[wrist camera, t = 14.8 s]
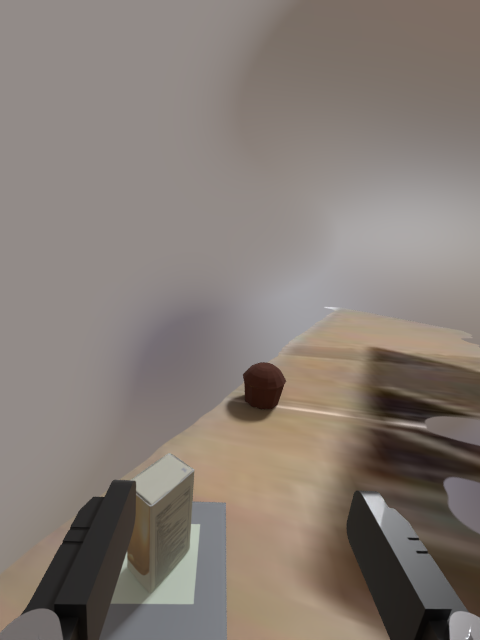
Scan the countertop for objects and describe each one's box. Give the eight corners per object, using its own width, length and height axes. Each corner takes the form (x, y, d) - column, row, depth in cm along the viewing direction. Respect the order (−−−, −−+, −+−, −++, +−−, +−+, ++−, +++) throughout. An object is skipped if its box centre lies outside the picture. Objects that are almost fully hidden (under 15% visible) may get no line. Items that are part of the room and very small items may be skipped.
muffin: (276, 417, 70) (281, 379, 67) (234, 404, 73) (237, 368, 71) (286, 395, 80) (291, 362, 78) (249, 385, 84) (252, 354, 82)
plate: (224, 513, 43) (225, 502, 43) (224, 663, 28) (226, 649, 27) (115, 509, 42) (115, 498, 41) (52, 664, 26) (50, 649, 26)
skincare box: (167, 528, 38) (171, 450, 35) (190, 550, 36) (197, 467, 33) (123, 569, 33) (124, 481, 30) (147, 598, 30) (150, 505, 27)
